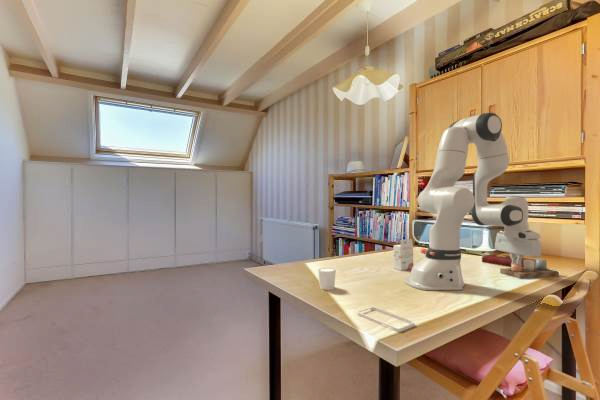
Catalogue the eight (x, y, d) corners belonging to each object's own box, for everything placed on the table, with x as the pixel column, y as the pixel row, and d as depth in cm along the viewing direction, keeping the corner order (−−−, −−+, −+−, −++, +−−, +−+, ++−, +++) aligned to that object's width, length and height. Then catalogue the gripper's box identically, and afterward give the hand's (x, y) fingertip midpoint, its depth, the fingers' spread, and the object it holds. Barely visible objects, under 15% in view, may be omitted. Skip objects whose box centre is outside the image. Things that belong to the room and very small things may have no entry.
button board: (519, 278, 128) (519, 273, 128) (500, 272, 138) (500, 268, 138) (558, 276, 131) (558, 271, 131) (537, 270, 141) (537, 266, 141)
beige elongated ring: (415, 327, 82) (372, 310, 94) (415, 322, 82) (372, 306, 94) (398, 334, 78) (356, 316, 90) (398, 329, 78) (356, 311, 90)
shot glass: (321, 291, 113) (321, 272, 113) (315, 286, 120) (315, 268, 120) (338, 289, 115) (338, 271, 115) (332, 284, 122) (331, 267, 122)
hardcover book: (526, 271, 143) (526, 262, 143) (481, 263, 161) (481, 255, 161) (538, 268, 149) (538, 259, 149) (494, 260, 167) (494, 253, 167)
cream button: (529, 271, 132) (529, 261, 132) (521, 269, 136) (521, 259, 136) (536, 271, 133) (536, 261, 133) (528, 269, 137) (528, 259, 137)
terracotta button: (516, 275, 131) (516, 265, 131) (509, 273, 135) (508, 263, 135) (523, 274, 132) (523, 264, 132) (516, 272, 136) (516, 262, 136)
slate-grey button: (541, 270, 134) (541, 260, 134) (533, 269, 137) (533, 259, 137) (548, 270, 134) (548, 260, 134) (540, 268, 138) (540, 258, 138)
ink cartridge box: (405, 266, 152) (405, 237, 152) (413, 268, 148) (413, 238, 148) (393, 268, 148) (393, 238, 148) (400, 270, 144) (400, 240, 144)
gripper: (491, 230, 143) (491, 259, 143) (531, 235, 123) (531, 269, 123) (502, 230, 144) (502, 259, 144) (544, 235, 124) (544, 268, 124)
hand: (516, 263), depth 133 cm, fingers closed, pressing on terracotta button
